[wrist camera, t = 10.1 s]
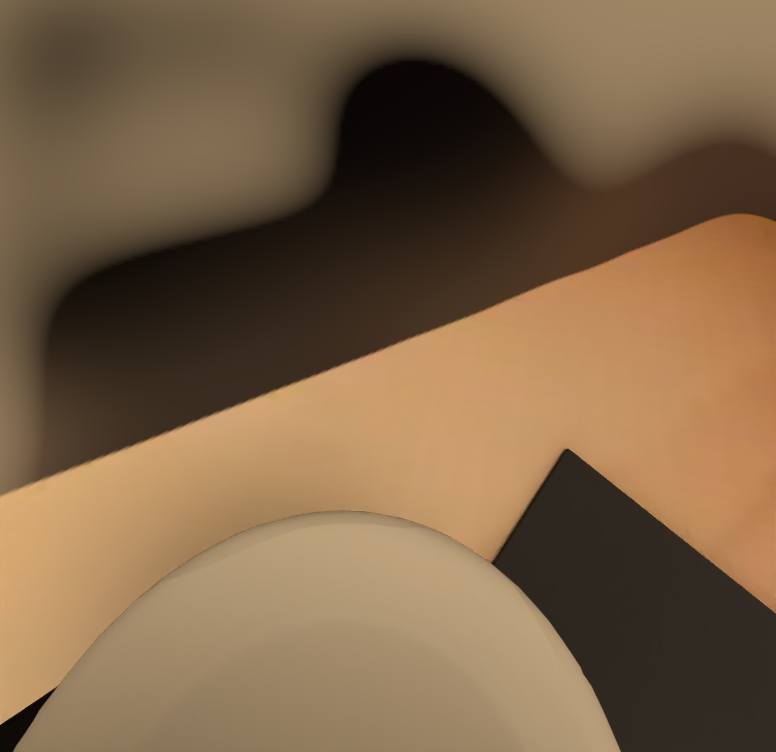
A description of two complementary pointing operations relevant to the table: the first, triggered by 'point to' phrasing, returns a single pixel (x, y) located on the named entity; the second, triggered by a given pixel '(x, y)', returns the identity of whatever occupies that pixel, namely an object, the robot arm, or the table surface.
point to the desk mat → (646, 619)
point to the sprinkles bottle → (327, 653)
